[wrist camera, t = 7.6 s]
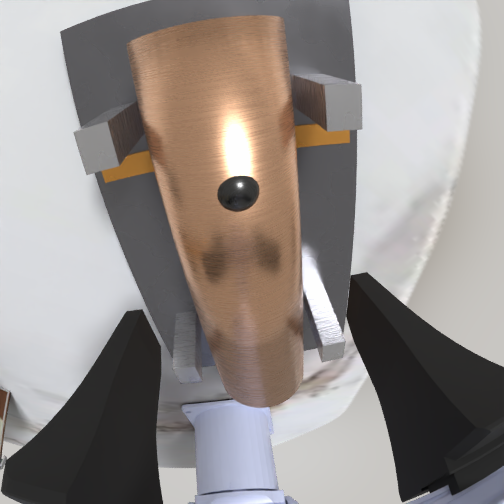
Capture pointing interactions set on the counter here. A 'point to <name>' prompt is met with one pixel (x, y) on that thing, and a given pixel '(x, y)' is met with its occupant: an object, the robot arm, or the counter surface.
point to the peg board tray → (144, 179)
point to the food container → (3, 419)
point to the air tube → (230, 190)
